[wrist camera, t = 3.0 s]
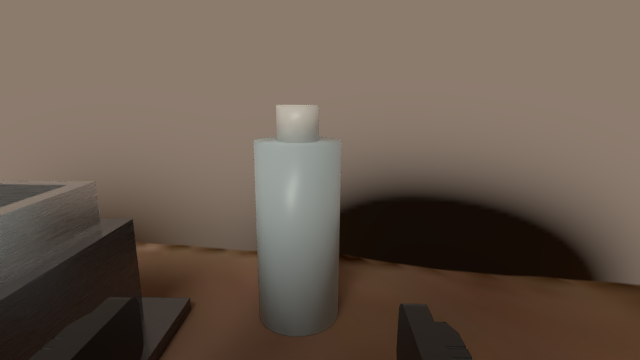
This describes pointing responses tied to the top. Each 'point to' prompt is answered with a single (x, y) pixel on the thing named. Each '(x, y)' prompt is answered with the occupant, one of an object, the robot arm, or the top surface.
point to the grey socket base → (68, 267)
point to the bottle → (297, 223)
